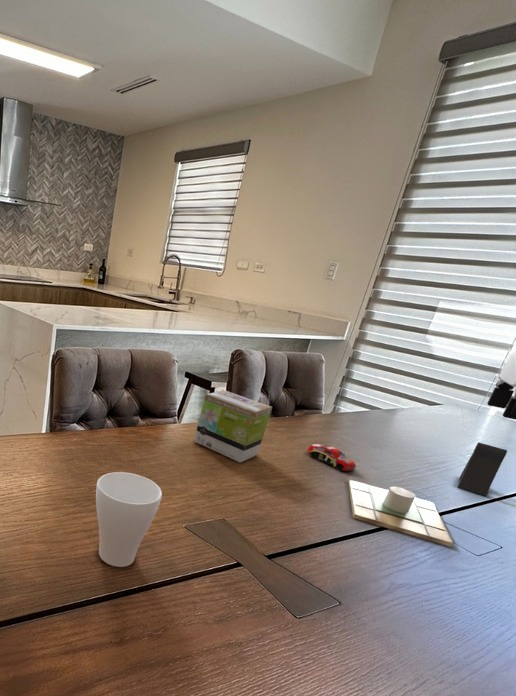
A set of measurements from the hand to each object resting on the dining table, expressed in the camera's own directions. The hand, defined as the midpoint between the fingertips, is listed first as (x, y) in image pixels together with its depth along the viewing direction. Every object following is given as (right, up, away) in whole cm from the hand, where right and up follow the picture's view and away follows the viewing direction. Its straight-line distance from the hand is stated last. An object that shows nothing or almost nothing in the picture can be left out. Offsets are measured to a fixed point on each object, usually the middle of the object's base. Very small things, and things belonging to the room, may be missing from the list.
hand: (503, 412), depth 98 cm
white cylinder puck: (-16, -21, +9) cm, 28 cm away
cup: (-83, -26, -18) cm, 89 cm away
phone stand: (+18, -19, +29) cm, 39 cm away
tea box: (-47, -9, +33) cm, 58 cm away
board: (-16, -22, +10) cm, 29 cm away
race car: (-18, -12, +33) cm, 40 cm away
